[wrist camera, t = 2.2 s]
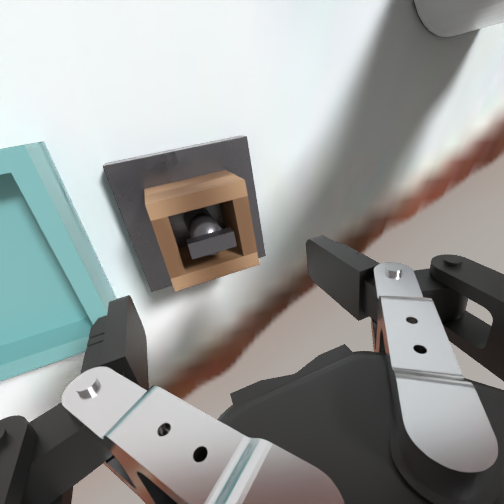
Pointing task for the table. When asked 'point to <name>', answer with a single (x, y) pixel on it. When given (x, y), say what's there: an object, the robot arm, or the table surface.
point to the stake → (187, 223)
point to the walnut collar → (194, 197)
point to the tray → (43, 266)
